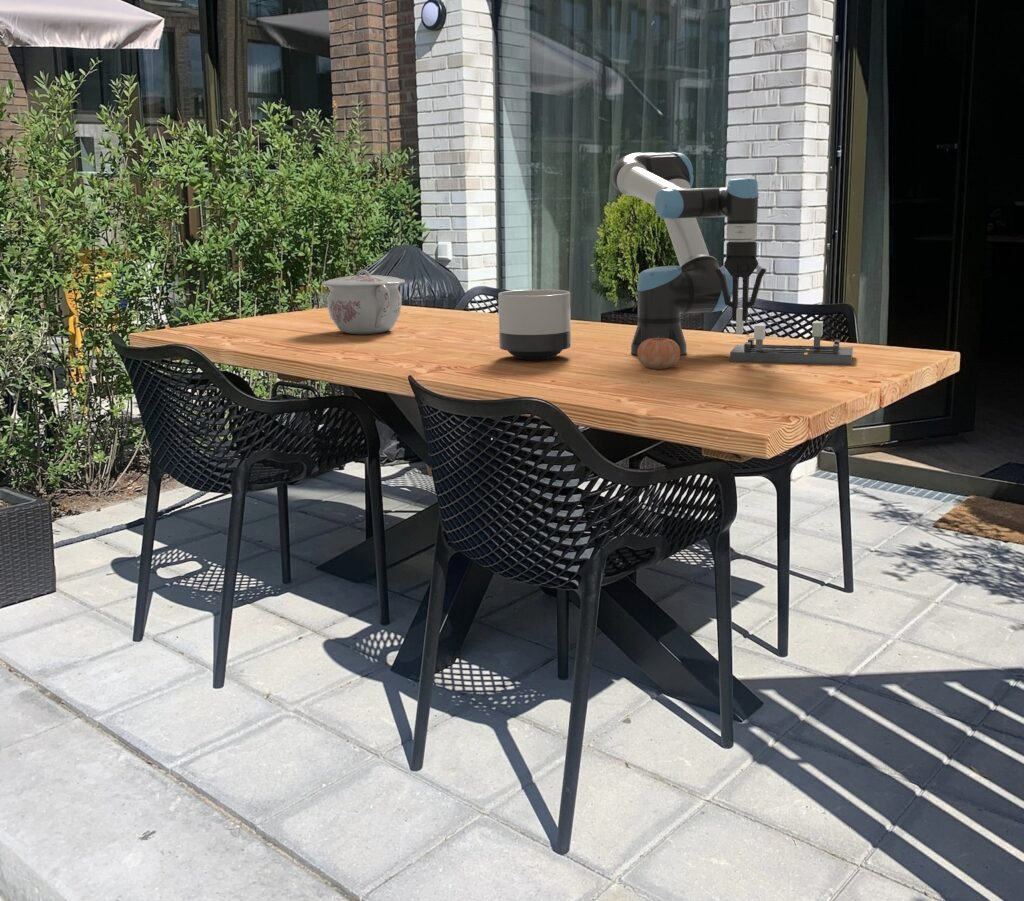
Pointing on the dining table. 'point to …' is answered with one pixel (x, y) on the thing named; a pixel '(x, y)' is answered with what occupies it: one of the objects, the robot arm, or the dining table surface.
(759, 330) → the fader
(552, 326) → the planter
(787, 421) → the dining table surface
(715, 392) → the dining table surface
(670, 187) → the robot arm
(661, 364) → the small orange pumpkin
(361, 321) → the chamber pot
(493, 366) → the dining table surface
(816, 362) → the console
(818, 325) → the fader
